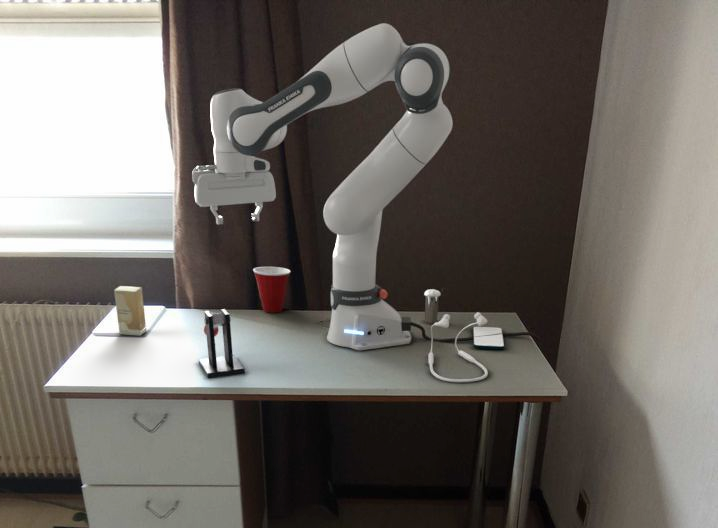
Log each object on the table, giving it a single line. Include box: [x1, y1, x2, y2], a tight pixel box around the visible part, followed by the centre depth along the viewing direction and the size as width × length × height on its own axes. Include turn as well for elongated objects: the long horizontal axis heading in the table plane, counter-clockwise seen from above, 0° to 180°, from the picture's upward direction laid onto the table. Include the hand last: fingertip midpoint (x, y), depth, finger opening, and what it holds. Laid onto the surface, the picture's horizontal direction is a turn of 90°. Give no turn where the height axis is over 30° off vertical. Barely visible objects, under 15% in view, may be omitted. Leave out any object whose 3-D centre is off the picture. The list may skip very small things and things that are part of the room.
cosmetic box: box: [113, 285, 147, 337], centre depth 203 cm, size 6×4×12 cm
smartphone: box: [472, 326, 505, 350], centre depth 202 cm, size 8×1×16 cm
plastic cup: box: [252, 266, 291, 313], centre depth 221 cm, size 11×11×12 cm
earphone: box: [427, 311, 489, 384], centre depth 182 cm, size 14×17×18 cm
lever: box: [203, 312, 224, 338], centre depth 182 cm, size 13×4×4 cm, turn 21°
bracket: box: [198, 308, 246, 379], centre depth 180 cm, size 10×9×14 cm
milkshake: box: [423, 287, 445, 325], centre depth 212 cm, size 4×5×10 cm
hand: (238, 222), depth 193 cm, fingers open, 8 cm apart
